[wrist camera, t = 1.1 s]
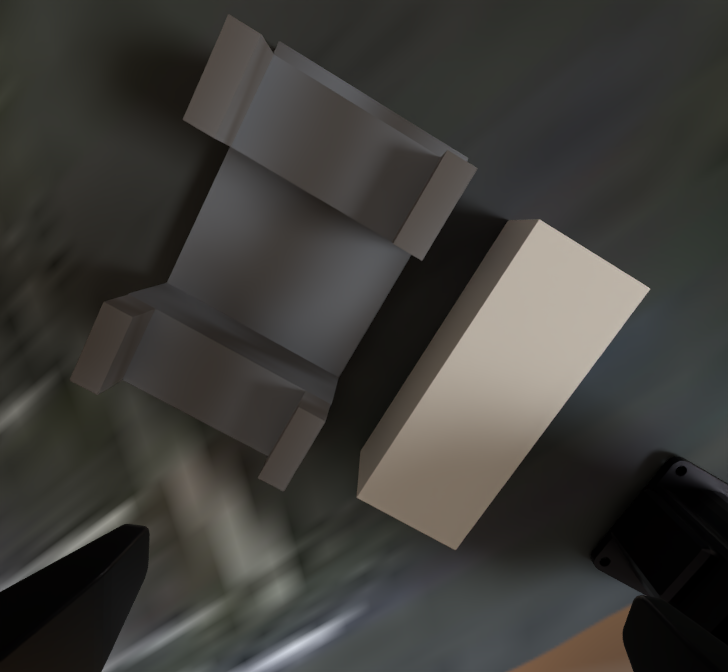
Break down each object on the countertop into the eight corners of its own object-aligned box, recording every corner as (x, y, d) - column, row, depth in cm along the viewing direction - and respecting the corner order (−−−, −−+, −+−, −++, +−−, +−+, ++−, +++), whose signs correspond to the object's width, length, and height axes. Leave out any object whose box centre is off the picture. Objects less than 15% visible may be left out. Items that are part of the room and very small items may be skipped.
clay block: (596, 275, 19) (650, 288, 15) (442, 492, 22) (455, 550, 18) (506, 220, 19) (539, 219, 15) (360, 448, 22) (356, 497, 18)
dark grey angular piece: (463, 161, 18) (498, 136, 13) (298, 441, 21) (271, 514, 16) (284, 51, 17) (243, -26, 12) (140, 357, 21) (57, 404, 15)
